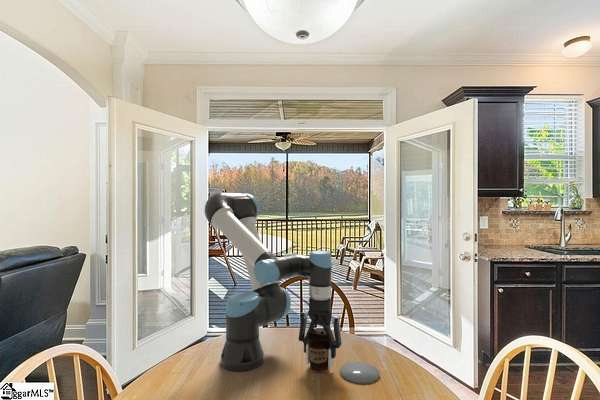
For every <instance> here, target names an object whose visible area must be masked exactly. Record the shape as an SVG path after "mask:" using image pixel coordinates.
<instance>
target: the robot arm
mask: <svg viewBox="0 0 600 400" xmlns="http://www.w3.org/2000/svg"><path fill="white" fill-rule="evenodd" d="M259 210H260V206H259V203H258V200H257V199H256V197H255V196H254V195H252V194H250V193H245V192H217V193H214V194H212V195H211V196H210V197H209V198H207V201H206V202H205V204H204V215H205V218H206V220H207V222H208V223H209V224H210V225H211V226H212V227H213V229H218V230H219V231H220V232H221V233H222V234H223V235H224V236H225V237H226V239H228V241H230V243H231V244H232V245H233V246H234V247H235V248H236V249H237V250H238V251H239V252H240V253H241V255H242V257H243V260H244V264H245V266H246V267H245V268H246V270H247V274H248V276H249V277H248V278H249V280H250V284H251V289H250V290H246V291H240V292H235V293H234V294H232V295H230V296H229V297H228V299H227V301H226V304H225V307H226V308H225V342H224V345H223V348H222V351H221V355H220V365H221V366H222V368H224V369H226V370H228V371H233V372H235V371H236V372H245V371H250V370H254V369H256V368H258V367H260V366H261V365H262V364H263V363H264V361H265V353H264V351H263V350H264V349H263V347H262V343H261V341H260V327H263V326H266V325H269V324H271V323H273V322H278V321H280V320H281V319H283V318H285V317H286V316H287V315H288V314H289V313H290V309H291V306H292V305H291V303H292V301H291V299H292V298H291V296H290V294H289V292H288V290H287V289H286V288H284V287H281V286H280V283H279V282H280V281H283V280H288V279H292V278H295V277H301V278H302V277H303V278H307V279H308V283H309V284H308V296H309V298H308V311H306V310H304V311H302V312H301V313H300V314H299V316H300V326H299V332H298V341H299V342H302V343H303V352H304V353H305V364H307V365H310V360H309V341H308V335H309V334H310V331H312V330H313V329H315V327H316V326H318V325H319V326H321V327H322V328H324V330H325V332H326V335H327V334H328V337H329V344H330V348H329V350H328V369H329V370H330V369H333V366H334V359H335V357H336V356H337V349H340V348H341V346H342V337H341V328H340V327H341V326H340V320H341V316H340V315H337V316H336V315H333V313H332V298H331V297H332V268H333V263H332V255H331V252H329V251H326V250H313V251H310V252H309V255H306V254H299V253H297V252H296V253H295V252H293V253H291V252H290V253H284V255H283V256H280V257H278V256H277V257H276V256H275V255H274V253H272V252H271V250H270V249H268V248H267V247H266V246H265V245H264V244H263V242H261V238H260V235H259V232H258V230H257V226H256V223H257V221H258V215H259ZM308 317H309V319H310V323H309V326H308V329H307V321H308ZM330 320H331V323H333V331H332V327H331V323H330ZM306 329H307V331H306ZM333 332H334V333H333Z"/></svg>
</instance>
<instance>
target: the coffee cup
mask: <svg viewBox="0 0 600 400" xmlns="http://www.w3.org/2000/svg"><path fill="white" fill-rule="evenodd" d="M308 341H309V360H310V363H309V368H310V370H311V371H312V372H315V373H317V374H319V373H320V374H323V373H326V372H329V370H330V369H328V350H329V348H330V344H329V337H328V334H327V335H326V332H325V330H324V328H323V327H318V328H317V327H316V328H314V329H313V330H312V331H310V334H309V335H308Z"/></svg>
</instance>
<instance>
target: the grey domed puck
mask: <svg viewBox="0 0 600 400" xmlns="http://www.w3.org/2000/svg"><path fill="white" fill-rule="evenodd" d="M339 375H340V376H341V377H342V378H343V379H344V380H345V381H348V382H351V383H353V384H361V385H362V384H363V385H365V384H366V385H367V384H371V383H375V382H377V381H378V380H379V379H380V370H379V369H378V368H377V367H376V366H375V365H372V364H371V363H367V362H364V361H350V362H346V363H344V364H342V365H341V366H340V368H339Z"/></svg>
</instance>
